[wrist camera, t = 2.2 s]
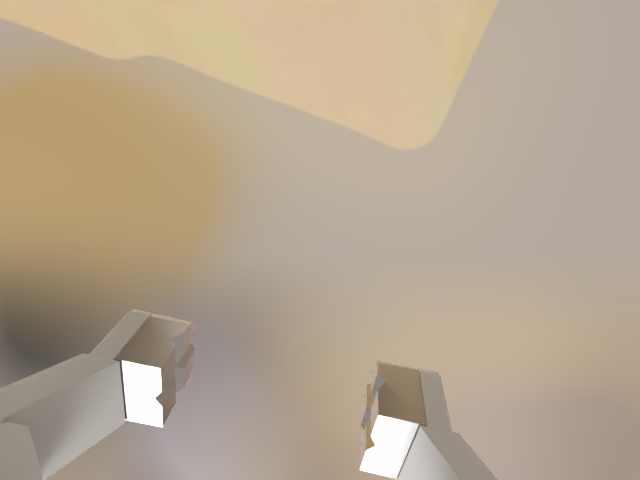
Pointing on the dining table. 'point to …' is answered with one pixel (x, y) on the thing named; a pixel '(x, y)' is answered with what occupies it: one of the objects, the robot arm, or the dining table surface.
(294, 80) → the dining table surface
